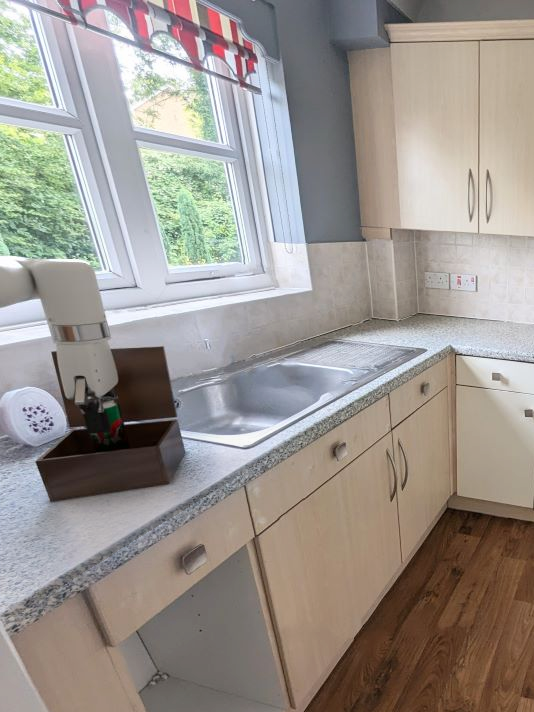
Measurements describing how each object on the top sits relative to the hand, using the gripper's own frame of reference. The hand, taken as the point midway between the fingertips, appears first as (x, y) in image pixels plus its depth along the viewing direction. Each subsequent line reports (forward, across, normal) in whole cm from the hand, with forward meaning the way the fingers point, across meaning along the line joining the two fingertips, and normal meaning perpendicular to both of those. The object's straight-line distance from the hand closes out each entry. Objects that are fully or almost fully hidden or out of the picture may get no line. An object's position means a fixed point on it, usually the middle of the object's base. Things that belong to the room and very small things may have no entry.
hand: (106, 425), depth 86 cm
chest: (+11, 0, +1) cm, 11 cm away
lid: (-5, -8, 0) cm, 10 cm away
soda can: (+7, 0, 0) cm, 7 cm away
